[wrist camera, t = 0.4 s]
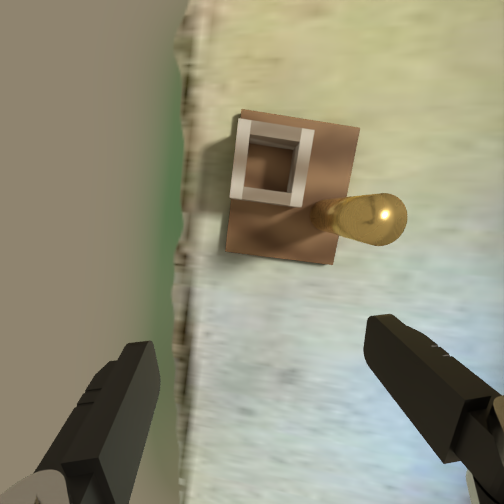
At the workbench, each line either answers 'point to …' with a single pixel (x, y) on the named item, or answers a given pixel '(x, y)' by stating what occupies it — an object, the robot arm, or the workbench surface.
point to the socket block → (286, 184)
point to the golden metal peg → (362, 218)
